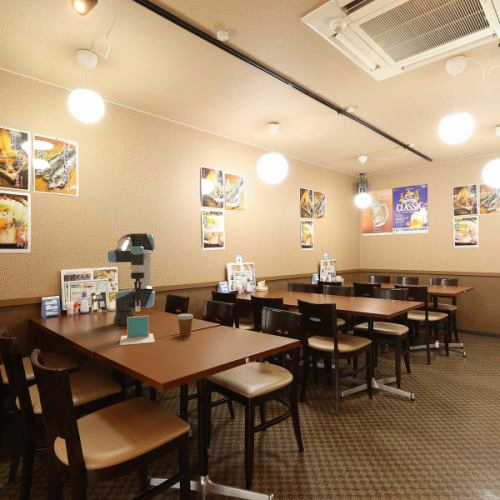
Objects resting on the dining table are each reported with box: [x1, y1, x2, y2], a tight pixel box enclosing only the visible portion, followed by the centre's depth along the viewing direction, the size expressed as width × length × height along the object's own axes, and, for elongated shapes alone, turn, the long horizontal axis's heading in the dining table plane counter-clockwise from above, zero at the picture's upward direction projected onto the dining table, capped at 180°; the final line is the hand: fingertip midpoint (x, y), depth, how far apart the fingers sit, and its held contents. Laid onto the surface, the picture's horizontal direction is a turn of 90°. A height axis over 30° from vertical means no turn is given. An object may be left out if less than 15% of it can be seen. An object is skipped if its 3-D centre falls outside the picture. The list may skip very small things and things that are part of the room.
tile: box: [126, 315, 150, 338], centre depth 203 cm, size 2×12×12 cm, turn 108°
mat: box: [119, 332, 155, 346], centre depth 199 cm, size 22×18×1 cm
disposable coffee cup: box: [177, 313, 194, 337], centre depth 210 cm, size 10×10×12 cm
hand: (137, 311), depth 210 cm, fingers closed
